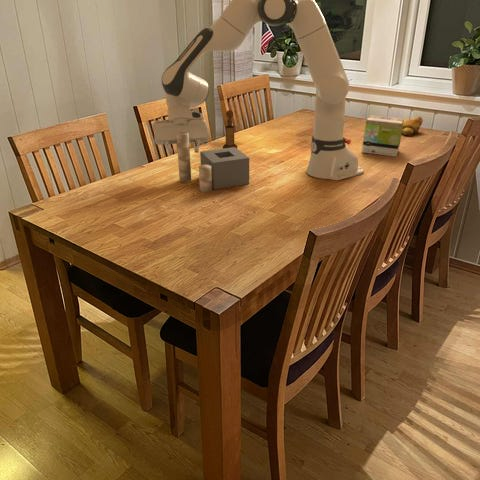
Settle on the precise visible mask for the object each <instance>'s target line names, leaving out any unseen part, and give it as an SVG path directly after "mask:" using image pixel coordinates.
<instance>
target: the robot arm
mask: <svg viewBox="0 0 480 480" xmlns="http://www.w3.org/2000/svg"><path fill="white" fill-rule="evenodd" d="M260 22H263V23H265V25H268V26H271V27H277V26H282V25H286V24H288V26H289V27H290V28H291V29H292V31H293V34H294V36H295V39H296V41H297V44H298V45H299V49H300V51H301V53H302V56H303V58H304V61H305V64H306V65H307V69H308V71H309V74H310V76H311V79H312V81H313V84H314V87H315V102H314V103H315V104H314V119H313V131H312V132H313V133H312V136H311V140H310V151H311V152H310V158H309V162H308V165H307V167H306V170H305V171H306V174H308V175H309V176H311V177H314V178H317V179H324V180H326V179H327V180H332V181H340V180H343V179H344V180H345V179H348V178H351V177H355V176H359V175H362V174H364V169H363V167H361V166H360V165H359V158H358V156H357V155H356V154H355V153H354V152H352V151H351V150H350V149H349V148H348V147H347V146H346V145H348V146H349V145H350V144H352V139H350V138H347V137H346V138H345V137H343V134H344V128H345V127H344V126H345V119H346V118H345V113H346V97H347V95H348V93H349V90H350V82H349V80H348V79H349V78H348V77H347V74H346V71H345V68H344V67H343V63H342V61H341V58H340V56H339V52H338V50H337V47H336V45H335V42H334V40H333V38H332V35H331V32H330V30H329V27H328V25H327V22H326V20H325V17H324V15H323V13H322V11H321V9H320V7H319V6H318V3H317V2H316V1H315V0H231V1H230V2H229V3H228V4H227V6H226V7H225V9H224V10H223V12H222V13H221V15H220V16H219V18H218V19H216V21H215V22H214V23H213V24H212V25H211V26H208V27H206V28H203V29H201V30H200V31H199V32H198V33H197V35H196V36H194V37H193V39H192V40H191V42H190V43H189V44H188V45H187V46H186V47H185V49H184V50H183V51H182V52H181V53H180V54H179V56H178V57H177V59H176V60H175V61H173V63H171V65H169V66H168V67H167V68H166V69H165V70H164V72H163V73H162V75H161V85H162V87H163V90H164V93H165V101H166V103H165V104H166V106H167V113H166V114H167V119H161V120H159V119H157V120H156V121H153V123H152V124H151V125H152V127H151V128H152V131H154V144H156V146H157V145H160V146H161V145H164V147H165V149H166V150H167V151H168V155H173V154H174V151H173V147H170V145H175V144H176V145H177V135H176V134H177V133H180V132H186V133H189V144H194V143H195V144H196V146H194V148H193V149H194V154H197V153H199V152H200V151H199V150H200V149H199V148H200V147H201V143H208V142H209V140H210V130H209V127H208V123H207V122H206V120H205V116H204V114H203V113H202V112H199V111H194V110H192V108H195V107H198V106H200V105H202V104H204V103H205V102H206V100H207V99H208V97H209V95H210V87H209V83H208V81H207V80H205V79H203V78H201V77H199V76H198V75H195V74H193V73H191V72H190V70H191V69H192V68H193V66H194V65H195V64H196V63H197V61H198V60H199V59H200V58H201V57H202V56H203V55H204V54H206V53H208V52H223V53H224V52H225V53H227V52H232V51H235V50H237V49H239V47H240V46H241V45H242V44H243V43H244V41H245V39H247V36H248V35H249V33H250V32H251V30H252V29H253V28H254V27H255V25H256V24H258V23H260ZM199 154H200V153H199Z"/></svg>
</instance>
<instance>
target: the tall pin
mask: <svg viewBox="0 0 480 480" xmlns="http://www.w3.org/2000/svg"><path fill="white" fill-rule="evenodd" d="M176 135H177V144H176V147H177V160H178V161H177V162H178V177H179V179H178V180H179V183H182V184H189V183H191V182H192V169H191V153H190V152H191V151H190V143H189V133H186V132H180V133H177V134H176Z"/></svg>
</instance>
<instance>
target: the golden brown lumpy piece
mask: <svg viewBox="0 0 480 480" xmlns="http://www.w3.org/2000/svg"><path fill="white" fill-rule="evenodd" d="M423 121H424V119H423V118H422V117H421V116H416V117H413V118H407V119H404V123H403V129H402V134H403V135H405V136H413V135H416V134H418V133H419V130H420V128H421V127H422V124H423ZM415 133H416V134H415Z"/></svg>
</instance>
